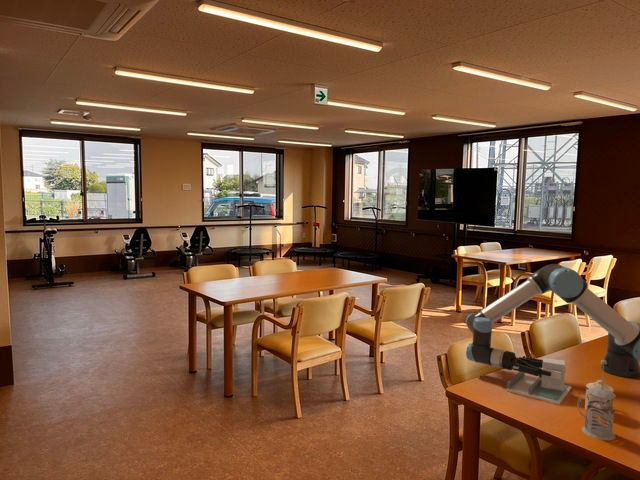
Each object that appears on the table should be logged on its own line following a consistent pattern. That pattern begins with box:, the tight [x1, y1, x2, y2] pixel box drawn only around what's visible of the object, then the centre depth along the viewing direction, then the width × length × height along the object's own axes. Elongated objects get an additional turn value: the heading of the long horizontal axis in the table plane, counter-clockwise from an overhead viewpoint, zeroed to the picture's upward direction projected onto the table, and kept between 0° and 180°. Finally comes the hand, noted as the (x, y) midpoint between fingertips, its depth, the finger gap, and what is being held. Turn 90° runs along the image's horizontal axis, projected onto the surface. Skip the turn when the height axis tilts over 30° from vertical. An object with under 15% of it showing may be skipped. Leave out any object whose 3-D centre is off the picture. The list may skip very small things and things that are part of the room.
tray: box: [506, 371, 572, 405], centre depth 195 cm, size 20×20×4 cm
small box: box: [541, 357, 566, 391], centre depth 192 cm, size 8×6×10 cm
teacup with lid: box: [584, 379, 615, 415], centre depth 177 cm, size 12×9×12 cm
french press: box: [576, 359, 617, 441], centre depth 160 cm, size 10×12×25 cm
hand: (562, 373), depth 189 cm, fingers closed on small box, 7 cm apart
